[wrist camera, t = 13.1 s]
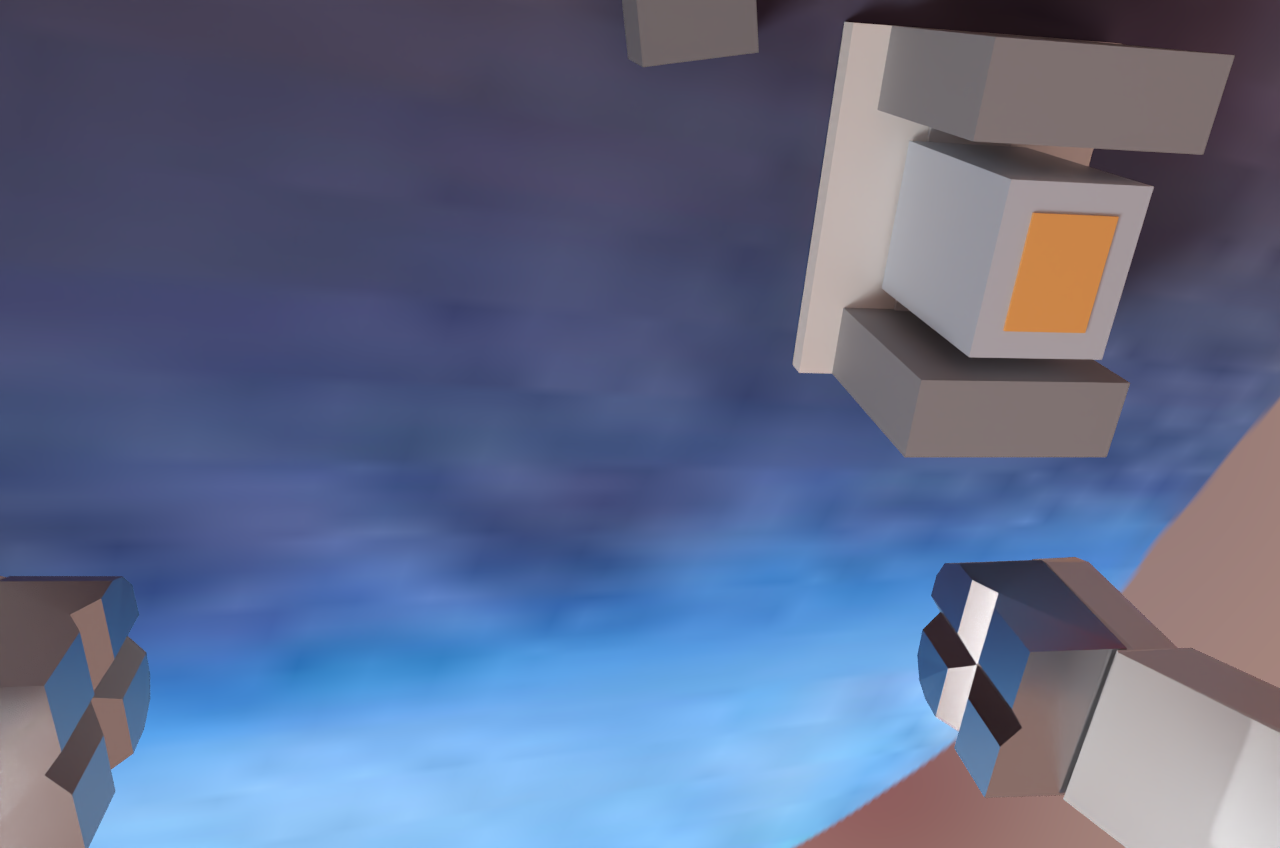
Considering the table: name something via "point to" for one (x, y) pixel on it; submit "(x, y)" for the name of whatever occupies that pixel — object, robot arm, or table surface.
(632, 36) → the block
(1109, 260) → the block
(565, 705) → the table surface
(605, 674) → the table surface
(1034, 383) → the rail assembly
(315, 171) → the table surface
